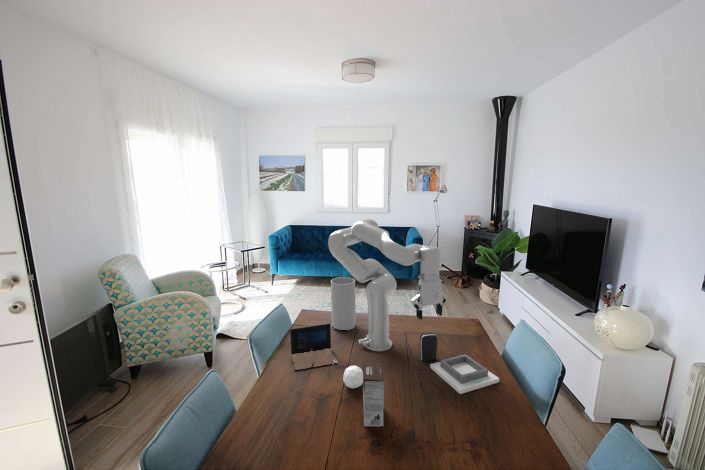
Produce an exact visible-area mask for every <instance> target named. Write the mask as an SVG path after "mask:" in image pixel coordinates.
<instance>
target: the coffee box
mask: <svg viewBox="0 0 705 470" xmlns="http://www.w3.org/2000/svg"><path fill="white" fill-rule="evenodd" d="M362 371H363V383H362V386H363V387H362V403H363V405H362V407H363V426H364V427H381V426H382V427H384V426H385V425H384V424H385V420H384V415H385V413H384V412H385V377H384V369H383V363H382V362H380V363H379V362H378V363H377V362H364V363H362Z"/></svg>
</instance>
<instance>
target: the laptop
mask: <svg viewBox="0 0 705 470" xmlns="http://www.w3.org/2000/svg"><path fill="white" fill-rule="evenodd" d="M331 328H332V325H331V323H330V322H329V323H328V322H327V323H322V324H315V325H309V326H303V327H294V328H290V329H289V338H290V339H289V340H290V355H291V354H298V353H304V352H308V353H309V352H310V351H314V352H315V351H317V350H320V351H321V350H324V349H330V348H331V349H332V337H331V336H332V335H331V334H332V333H331V331H332V330H331ZM335 360H336V361H335ZM335 360H333V361H334V362H335V363H337V364H338V363H339V362H338V360H337V358H336V359H335ZM332 365H335V364H334V363H333V364H332Z"/></svg>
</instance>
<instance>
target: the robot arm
mask: <svg viewBox="0 0 705 470" xmlns="http://www.w3.org/2000/svg"><path fill="white" fill-rule="evenodd" d="M327 242H328V243H327V246H328V249H329V252H330V253H331V255H332V257H334V259H336V261H337V262H339V263H340V264H341V265H342V266H343V268H344V269H345V270H347V272H348V273H349V274H350V275H351V276H352V277H353V279H355V281H357V282H359V283H362V284H363V283H366V282H368V281H369V282H368V284H367V285H366V287H365V295H366V301H367V334H366V335H365V337H364V338H360V339H357V341H358V344H359V345H360V344H363V346H365V348H367V349H368V350H370V351H373V352H386V351H388V350H390V349H392V347H393V341H392V340H391V339H390V335H389V334H390V331H389V330H390V327H389V326H390V316H389V315H390V312H389V311H390V310H389V309H390V307H389V303H388V297H389V296H390V295H391V294H393V293H394V292H395V291H396V289H397V287H398V286H397V280H396V278H395V277H394V276H393V275H392V274H391V273H390V271H388V269H386V268H385V266H383V265H382V264H381V263H380V262H379V261H378V260H376V259H374V258H367V259H363V258H362V257H360V255H359V254H358V253H357V252H356V251H354V250H352V249H350V248H349V246H353V245H356V244H358V243H361V242H363V243H366V244H368V245H370V246H373V247H375V248H376V249H378V250H379V251H380V252H381V253H382V254H383V255H384V256H385V257H386V258H388V259H389V260H391V261H392V262H395V263H396V264H400V265H402V266H406V267H408V266H412V265H414V264H415V263H417V262H420V273H419V275H417V277H418V284H417V291H416V292H417V293H416V295H415V296H414V297H413V298H412V299H410V302H411V304H412V306H413V307H414V308H415V310H416V311H415V315H416V318H417V319H418V320H420V321H421V320H423V310H422V309H423V307H428V306H433V305H434V306H435V305H436V306H435V308H436V309H435V313H436V314H437V315H439V316H443V307H444V305H445V303H446V302H447V298H448V294H447V293H445V292H444V290H443V289H444V288H443V284H442V283H443V282H442V279H441V278H440V270H441V269H440V266H441V265H440V261H441V257H440V256H441V250H440V248H439V247H438V246H436V245H435V246H434V245H422V244H419V243H412V244H409V245H406V246H404V245H401V244H399V243H397V242H395V241H393V240H392V239H391V238H390V233H389V231H387V230H385V229H384V228H381V227H379V225H378V223H377V222H376V221H375V220H374V219H372V218H371V219H369V218H367V219H362V220H359V221H356V222H355V223H354V224H353V225H352V226H350V227H347V228H341V229H338V230H335V231H334V232H332V233H331V234H330V235H329V237H328V241H327Z"/></svg>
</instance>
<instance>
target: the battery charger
mask: <svg viewBox="0 0 705 470" xmlns="http://www.w3.org/2000/svg"><path fill="white" fill-rule="evenodd" d="M419 346H420V358H419V359H420V360H421V362H429V361H430V362H431V361H437V359H438V358H437V356H438V355H437V354H438V337H437V335H436V334H435V333H434V332H425V333H421V334H420V337H419Z"/></svg>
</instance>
